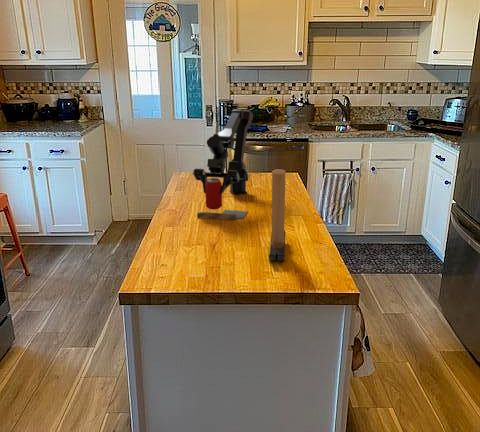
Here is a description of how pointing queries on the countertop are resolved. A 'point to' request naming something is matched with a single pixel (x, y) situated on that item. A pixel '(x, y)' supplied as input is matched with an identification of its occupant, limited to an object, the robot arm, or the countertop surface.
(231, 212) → the end pad
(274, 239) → the hammer
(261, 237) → the countertop surface
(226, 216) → the rail
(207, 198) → the beverage can
